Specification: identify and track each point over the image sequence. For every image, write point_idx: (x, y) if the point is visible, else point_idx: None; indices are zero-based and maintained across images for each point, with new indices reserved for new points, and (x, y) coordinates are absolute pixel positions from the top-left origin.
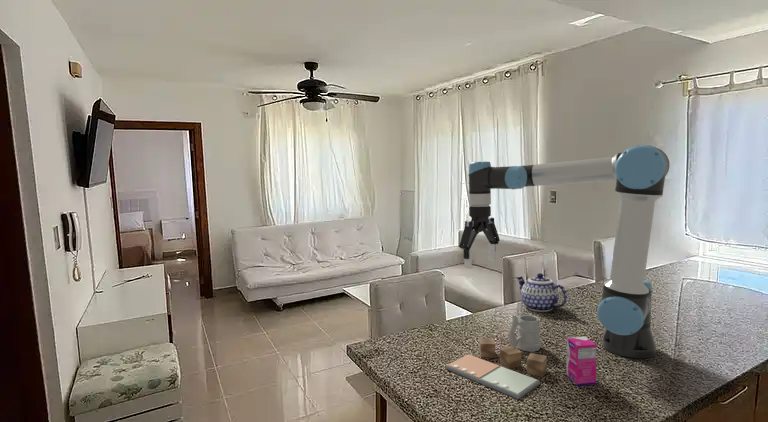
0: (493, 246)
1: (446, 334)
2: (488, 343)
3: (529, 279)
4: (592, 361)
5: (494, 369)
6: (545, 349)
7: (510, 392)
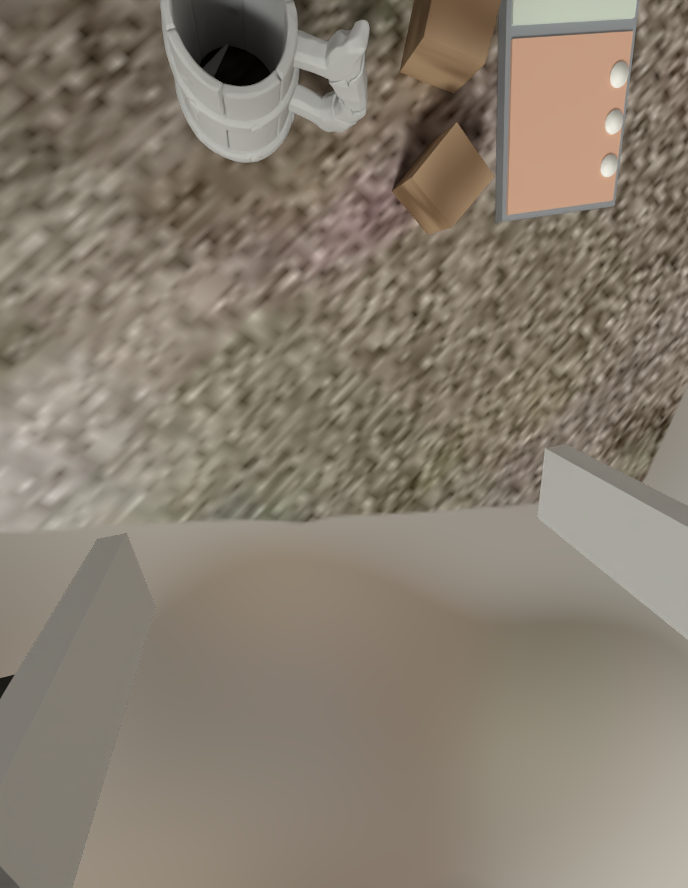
0: (13, 782)
1: (404, 423)
2: (471, 151)
3: None
4: None
5: (543, 36)
6: None
7: None
